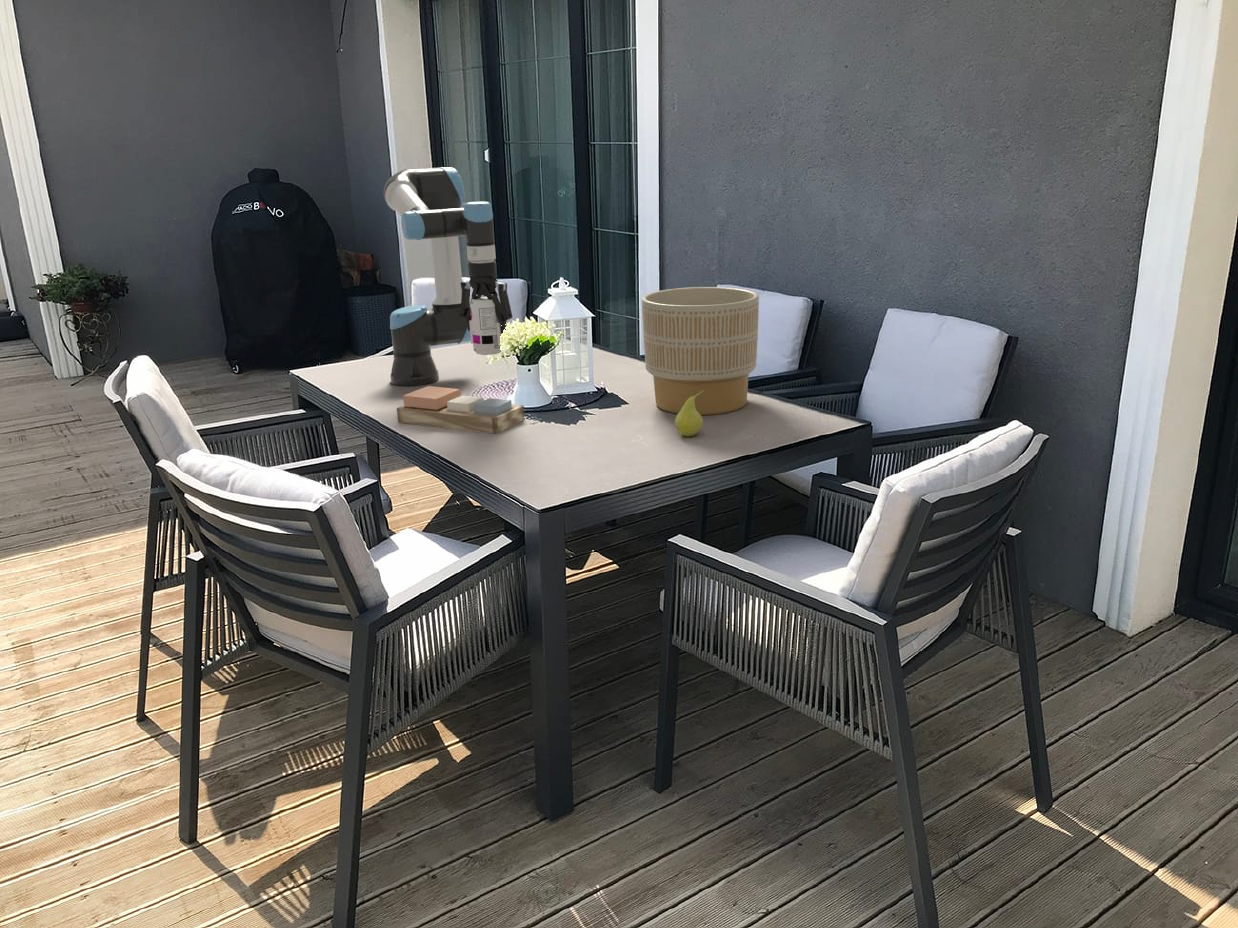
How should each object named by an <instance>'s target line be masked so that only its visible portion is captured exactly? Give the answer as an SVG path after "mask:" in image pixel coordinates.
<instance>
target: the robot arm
mask: <svg viewBox="0 0 1238 928" xmlns="http://www.w3.org/2000/svg"><path fill="white" fill-rule="evenodd" d="M383 199H384V201H385V203H386V204H387V206H388V207H389V208H390V209H391V210H393V211H395V212H397V213H398V214H399V216H400V217H401V218H400V222H401V231H402V234H403V237H404V238H405V239H406V240H412V241H413V240H415V241H420V240H428V239H430V248H431V258H432V265H433V276H434V277H433V278H434V287H435V288H434V289H435V298H434V300H432V302H431V303H432V304H431V305H432V308H428V307H427V306H426V305H425V304H417V305H416V304H415V305H407V306H404V307H400V308H398V309H395V310H394V311H392V312H391V314H390V316H389V329H390V333H391V341H392V342H391V343H392V352H393V361H392V366H391V372H390V375H389V376H390V383H391V384H392V385H396V386H400V387H401V386H403V387H409V386H410V387H411V386H421V385H422V386H423V385H427V384H432V383H434V382H437V381H438V380H439V379H440V375H439V370H438V369H437V367H436V363H435V361H434V359H433V357H432V352H431V350H432V349H431V347H434V346H435V347H436V346H442V345H443V346H444V345H451V344H458V345H459V344H463V343H467V342H470V344H471V345H473V335H472V323H471V311H470V304H471V301H472V298H473V299H478V298H480V297H481V296H487V298H488V299H489V300H492V301H493V303H494V305H495V314H496V316H497V318H498V320H499V321H497V322H496V326H497V339H498V346H501V345H500V336H501V334H502V333H503V330H504V329H505V327H506V326H507V322H508V320H511V319H513V313H512V309H511V304H510V299H509V295H508V282H500V281H498V279H497V274H498V273H497V271H498V270H497V262H496V261H495V260H496V259H497V257H496V246H495V233H494V232H495V231H494V213H493V209H492V204H491V202H489V201H470V202H466V191H465V187H464V182H463V179H462V178H461V175H460V173H459V172H458V170H457V169H456V168H455V167H449V166H448V167H443V166H440V167H427V168H426V167H424V168H407V169H403V170H400V171H398V172H396V173H394V174H393V175H392V176H390V177H389V178H388V180H387V181H386V182H385V185H384V188H383ZM459 237H465V241H466V253H467V261H469V262H468V264H467V268H468V275H469V281H468V280H465V281H463V275H462V264H461V263H462V262H461V254H460V253H461V252H460V242H459ZM471 289H472V291H471ZM471 292H472V293H471ZM505 324H506V325H505ZM501 325H502V326H501ZM507 327H508V326H507ZM505 330H506V329H505Z"/></svg>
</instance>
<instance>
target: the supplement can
mask: <svg viewBox="0 0 1238 928" xmlns="http://www.w3.org/2000/svg"><path fill="white" fill-rule="evenodd" d="M471 298H472V297H471ZM470 302H471V304H470V311H471V323H472V335H473V344H472V345H473V346H472V347H473V351H474V352H475V353H476V354H477V355H480V356H481V355H482V356H489V355H490V356H492V355H497V354H500V353H502V351H501V350H500V346H498V339H497V326H496V322H497V321H499V320H498V318H497V316H496V314H495V305H494V303H493V301H492V300H489V299H488V298H487V296H483V295H482V296H481V297H480V298H478V299H473V298H472V301H471V300H470Z"/></svg>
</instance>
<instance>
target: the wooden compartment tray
mask: <svg viewBox="0 0 1238 928" xmlns="http://www.w3.org/2000/svg"><path fill="white" fill-rule="evenodd" d="M396 413H397V414H396V416H397V423H400V424H401V423H402V424H411V425H417V426H418V425H420V426H427V427H434V428H435V427H436V428H444V429H452V430H461V431H469V432H477V433H485V434H486V433H487V434H495V435H497V434H498V433H500V432H503V431H504V430H506V429H508V428H511V427H512V426H515V425H517V424H519V423H520V422H522V421H525V409H524V405H522V404H513V403H512V409H511V410H509V411H507V412H505V413H503V414H501V415H498V416H496V415H487V414H478V413H475V410H474V411H472V412H470V413H469V412H459V411H450V410H448V408H447V407H446V408H444V409H441V410H439V411H428V410H419V409H418V408H416V407H407V406H404V404H403V405H401V406H399V407H396Z"/></svg>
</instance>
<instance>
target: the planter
mask: <svg viewBox="0 0 1238 928" xmlns="http://www.w3.org/2000/svg"><path fill="white" fill-rule="evenodd" d="M759 296H760V295H759V293H757V292H755V291H754V290H753V291H752V290H749V289H744V288H743V289H742V288H737V287H726V286H725V287H723V286H722V287H721V286H720V287H719V286H697V287H696V286H692V287H691V286H690V287H679V288H669V289H663V290H657V291H652V292H649V293H646V294H644V295H643V296H642V297H641V311H642V312H641V313H642V315H641V316H642V331H643V332H642V333H643V334H642V335H643V348H644V349H643V350H644V360H645V361H644V362H645V364H644V365H645V370H646V371H647V372H648V374H650V375H651V376H653V386H654V387H653V388H654V389H653V390H654V397H655V404H656V406H657V407H658V408H659V409H661V410H663V411H665V412H667V413H671V414H677V415H678V413H679V412H680V410H681V409H682V407H683V406H684V404H685V402H686V401H687V400H688V399H689V398H690V397H692V396H695V395H696V394H698V393H700V392H701V391H702V390H703V389H704V390H705V391H704V392H703V393H701V394H699V395H698V396H696V397H695V408H696V411H697V412H698V413H699V414H700V415H701V416H710V415H711V416H712V415H723V414H726V413H727V414H728V413H732V412H734V411H738V410H740V409H742V408H743V407H744V406H746V403H747V400H748V391H749V390H748V388H749V387H748V385H749V374H751V373H752V372H753V371H755V369H756V367H757V360H758V358H757V357H758V338H759V337H758V336H759V312H760V311H759V307H760V305H759V303H760V301H759V299H760V297H759Z"/></svg>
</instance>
